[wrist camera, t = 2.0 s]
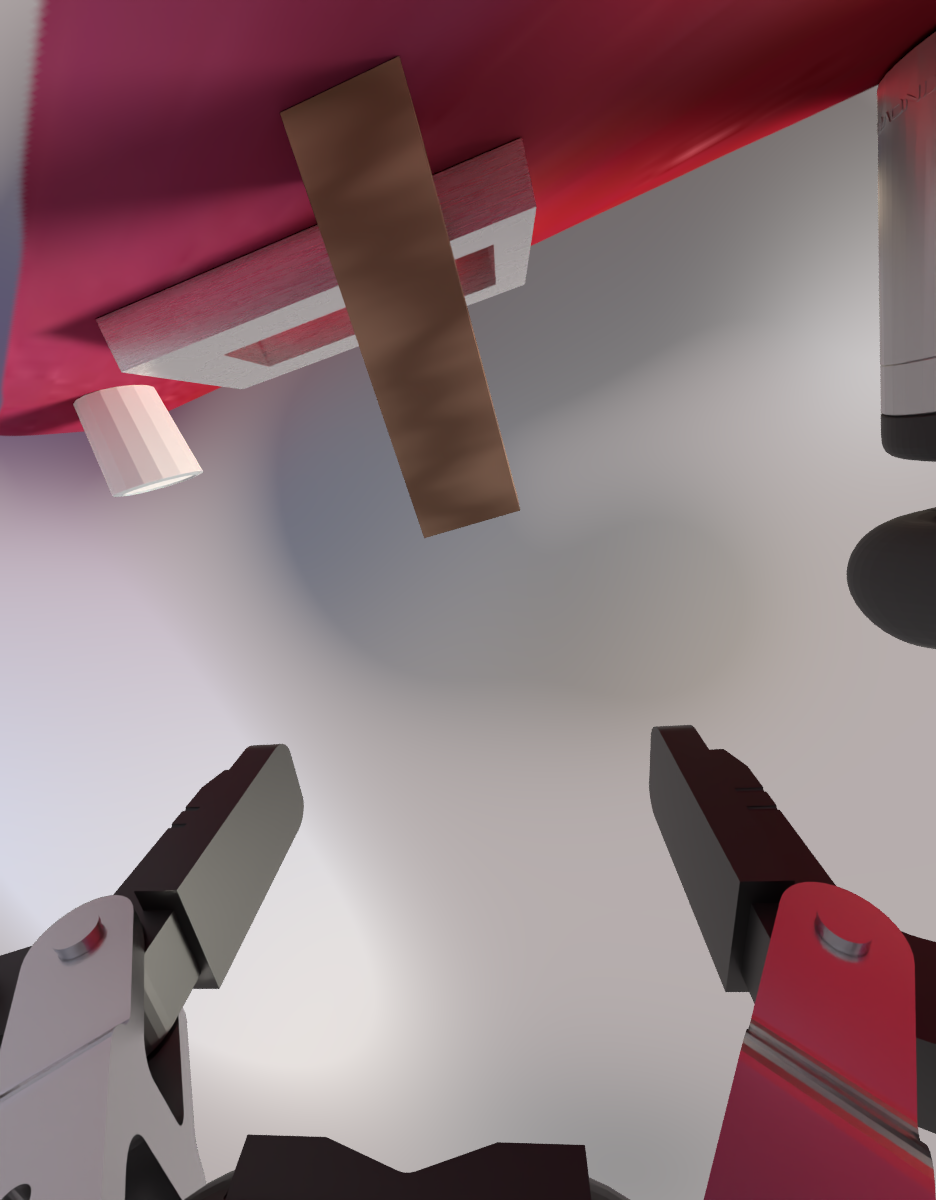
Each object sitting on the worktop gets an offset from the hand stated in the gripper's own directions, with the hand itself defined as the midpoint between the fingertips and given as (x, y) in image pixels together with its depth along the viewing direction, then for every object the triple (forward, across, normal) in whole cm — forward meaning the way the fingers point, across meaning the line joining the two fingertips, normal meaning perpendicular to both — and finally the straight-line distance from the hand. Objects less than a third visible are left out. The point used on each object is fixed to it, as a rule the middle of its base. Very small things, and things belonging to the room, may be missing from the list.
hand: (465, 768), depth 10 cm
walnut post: (+12, +3, -17) cm, 21 cm away
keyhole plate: (+23, +8, -16) cm, 29 cm away
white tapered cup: (+29, +28, -12) cm, 43 cm away
